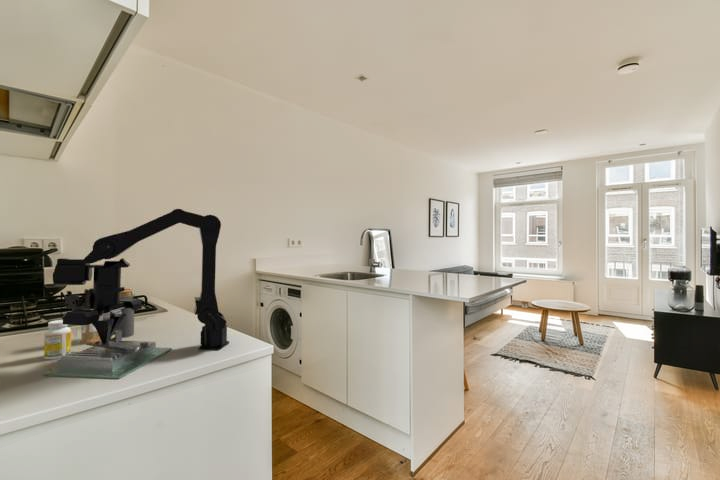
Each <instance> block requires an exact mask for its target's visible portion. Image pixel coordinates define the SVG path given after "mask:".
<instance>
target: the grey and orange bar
mask: <svg viewBox="0 0 720 480" xmlns="http://www.w3.org/2000/svg"><path fill="white" fill-rule="evenodd" d="M86 346H90V347H93V346H96V347H102V348H108V349H114V350H121V351H127V349H128V348H135V352H137V351H139V350H141V349H143V348H144V346H143V345H142V346H139V345H133V344H127V343H120V342H114V341H109V342H108V343H102V341H101V339H100V338H98V337H96V338H93V339H90V340H88V341H87V343H86Z"/></svg>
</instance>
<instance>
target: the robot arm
mask: <svg viewBox="0 0 720 480" xmlns="http://www.w3.org/2000/svg"><path fill="white" fill-rule="evenodd" d="M178 224H181V225H182V224H183V225H187V226H189V227H194V228H197V229H198V231H199V235H200V242H201V247H202V249H201V250H202V251H201V282H200V283H201V285H200V286H201V290H200V293H199V296H198V297H197V296H195V297H194V302H195V306H194V309H193V312H194V315H195V316H196V315H197V320H198V321H199V322H200V323H201V324H203V326H201V331H200V346H198V349H199V350H221V349H222V348H224V347H225V346H226V345H228V344H230V341H229V340H228V338H227V337H228V324H227V320H226V318H225V316H224V314H223V313H221V312H220V311H219V305H218V302H217V301H218V300H217V296H216V266H217V265H216V262H217V261H216V260H217V259H216V258H217V257H216V256H217V244H218V239H219V237H220V233H221V227H222V223H221V220H220V219H219V218H218V216H216V215H213V214H207V215H201V214H197V213H193V212H189V211H186V210H183V208H182V209H181V208H174V209H173V210H172V211H170V212H168V213H166V214H164V215H161V216H159V217H156V218H154V219H152V220H150V221H148V222H145V223H144V224H141V225H139V226H136V227H134V228H132V229H129V230H126V231H123V232H122V231H121V232H119V233H115V234H111V235H106V236H103V237H100V238H98V239H97V240H95V241H94V242H93V245H92V250H91V251H90V252H89V253H88V255H86V256H85V257H84V258H79V259H78V258H75V259H74V258H64V257H61V258H57V259H56V263H55V266H54V269H53V270H54V271H53V272H52V283H53V285H54V286H55V287H57V286H85V285H86V283H87V282H90V281H91V280H92V278H93V283H92V284H93V285H92V286H93V288H89V289H88V290H87V294H85V295H81V296H80V295H79V294H77V293H76V294H71V295H68V296H67V295H66V296H65V301H64V305H65V307H66V309H68V310H69V309H72V310H70V311H66V313H64V314H63V315H62V320H63V324H67V325H68V326H70V325H71V326H81V325H82V326H83V325H89V324H93V325H94V327H95V328H96V330H97V332H98V335H99V337H100V339H101V341H102V343H108V342H109V340H110V339H111V337H112V335H113V334H114V332H115V330H116V328H117V327H118V325H119V324H120V322H121V321H122V319H123V318H124V317H125V316H126V314H122V311H121V310H123V309H127V308H131V309H132V310H133V311H134V312H135V311H139V310H141V309H142V307H143V305H142V304H143V302H142V301H141V300H140V299H139V298H132V299H127V298H124V299H120V292H122V291H124V289H125V286H123V287H122V285H121V284H122V283H121V280H122V269H123V268H129V267H130V266H131V264H130V263H129V262H127V261H126V260H125V258H123V257H121V258H120V259H119V260H111V259H113V258H116V257H119V256H120V255H122V254H123V253H125V252H127V250H129V249H131V248H132V247H133V246H135V245H136V244H138V243H139V242H141V241H143V240H146V239H147V238H149V237H153V236H155V235H156V234H159V233H161V232H162V231H164V230H167V229H169V228H171V227H173V226H176V225H178ZM102 260H105V261H104V262H103V264H95V263H97V262H100V261H102ZM85 309H93V310H85Z"/></svg>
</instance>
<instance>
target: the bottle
mask: <svg viewBox="0 0 720 480" xmlns="http://www.w3.org/2000/svg"><path fill="white" fill-rule="evenodd" d="M132 292H133V289H130V288H129V289H128V288H127V289H125V288H124V291H122V292H120V299H124V298H127V299H134V295H133V294H132ZM121 311H122V314H126V316H125V317H124V318H123V319H122V321H121V322H120V324H119V325H118V327H117V328H116V330H122V339H123V338H128V337H131V336H133V335H134V334H135V311H133V310H132V309H131V308H127V309H123V310H121Z"/></svg>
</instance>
